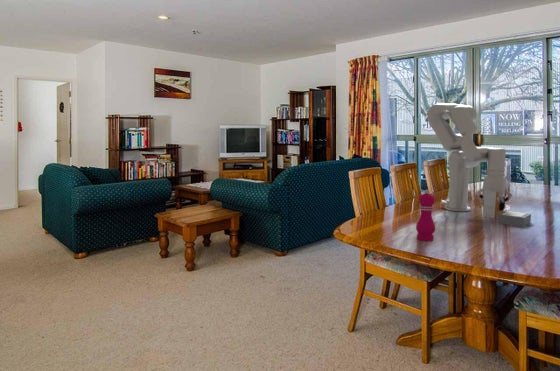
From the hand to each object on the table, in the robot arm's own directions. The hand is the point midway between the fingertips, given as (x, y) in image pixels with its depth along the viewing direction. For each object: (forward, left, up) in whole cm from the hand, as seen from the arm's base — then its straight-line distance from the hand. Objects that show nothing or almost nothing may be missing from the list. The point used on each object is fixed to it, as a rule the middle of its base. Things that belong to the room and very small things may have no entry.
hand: (493, 209), depth 211 cm
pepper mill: (-6, -62, -4) cm, 62 cm away
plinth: (+11, -7, -4) cm, 14 cm away
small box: (0, 0, -4) cm, 4 cm away
